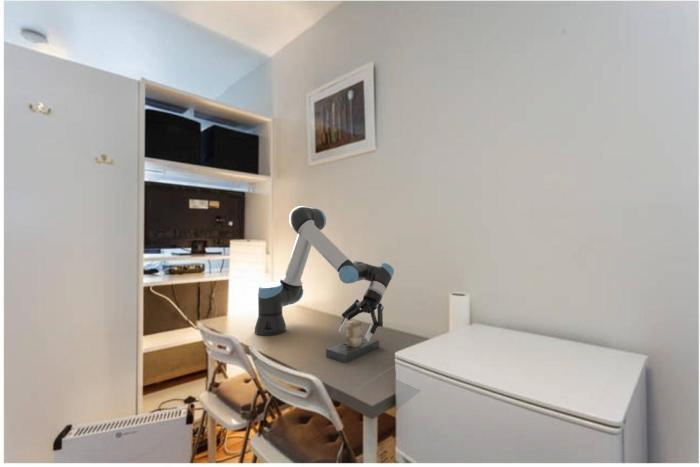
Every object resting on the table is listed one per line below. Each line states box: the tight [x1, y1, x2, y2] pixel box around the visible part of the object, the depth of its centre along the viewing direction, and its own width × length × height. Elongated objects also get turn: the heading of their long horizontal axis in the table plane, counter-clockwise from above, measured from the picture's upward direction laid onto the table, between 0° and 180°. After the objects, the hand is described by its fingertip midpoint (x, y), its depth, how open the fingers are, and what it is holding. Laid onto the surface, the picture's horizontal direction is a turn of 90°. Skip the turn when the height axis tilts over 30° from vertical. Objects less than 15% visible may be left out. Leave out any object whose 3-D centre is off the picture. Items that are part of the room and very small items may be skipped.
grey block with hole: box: [325, 334, 380, 364], centre depth 128 cm, size 10×22×3 cm, turn 141°
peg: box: [345, 319, 362, 348], centre depth 129 cm, size 4×4×12 cm
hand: (352, 336), depth 128 cm, fingers open, 13 cm apart
